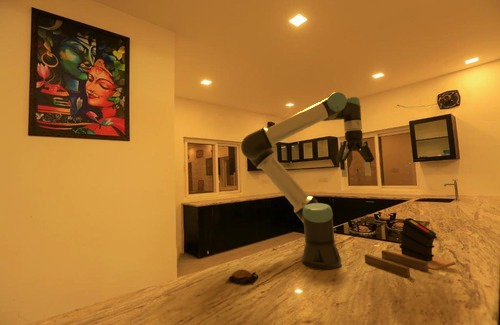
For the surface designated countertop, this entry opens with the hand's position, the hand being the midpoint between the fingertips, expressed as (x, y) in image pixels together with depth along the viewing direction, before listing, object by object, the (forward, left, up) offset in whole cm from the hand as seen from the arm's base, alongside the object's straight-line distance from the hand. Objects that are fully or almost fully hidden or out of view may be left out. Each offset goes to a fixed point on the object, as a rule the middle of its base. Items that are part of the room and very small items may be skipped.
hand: (356, 176), depth 109 cm
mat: (+10, -18, -34) cm, 40 cm away
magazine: (+10, -18, -34) cm, 39 cm away
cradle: (-4, -18, -34) cm, 39 cm away
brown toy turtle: (-58, +1, -35) cm, 68 cm away
